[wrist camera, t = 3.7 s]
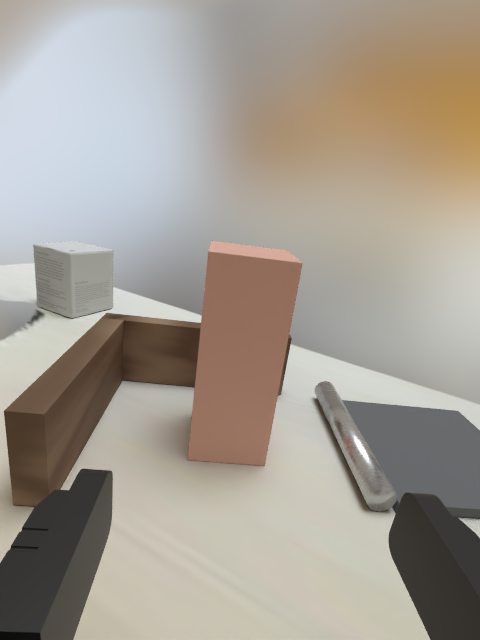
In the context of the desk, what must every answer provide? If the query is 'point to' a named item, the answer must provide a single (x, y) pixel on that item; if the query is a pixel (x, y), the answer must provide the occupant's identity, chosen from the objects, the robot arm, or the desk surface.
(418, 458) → the mat
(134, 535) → the desk surface
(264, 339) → the tall pink rectangular block
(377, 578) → the desk surface
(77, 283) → the product box
